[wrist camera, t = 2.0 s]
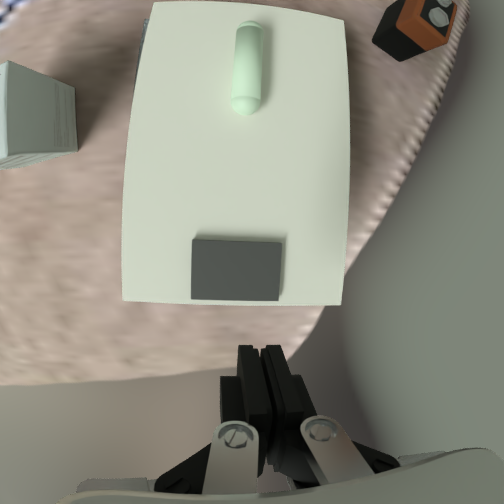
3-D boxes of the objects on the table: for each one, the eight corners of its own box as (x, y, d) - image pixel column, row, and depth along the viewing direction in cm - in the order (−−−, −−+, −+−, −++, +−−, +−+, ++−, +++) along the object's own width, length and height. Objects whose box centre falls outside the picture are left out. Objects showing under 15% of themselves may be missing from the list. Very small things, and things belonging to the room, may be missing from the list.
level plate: (157, 17, 20) (150, -12, 16) (334, 33, 22) (352, 9, 18) (130, 292, 23) (114, 308, 19) (329, 297, 25) (351, 312, 21)
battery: (369, 42, 26) (418, 12, 17) (386, 6, 25) (432, -26, 15) (399, 64, 27) (454, 43, 18) (414, 27, 26) (464, 3, 16)
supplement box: (22, 105, 24) (-52, 92, 12) (76, 86, 24) (9, 56, 12) (25, 168, 26) (-52, 180, 14) (79, 154, 27) (7, 156, 15)
